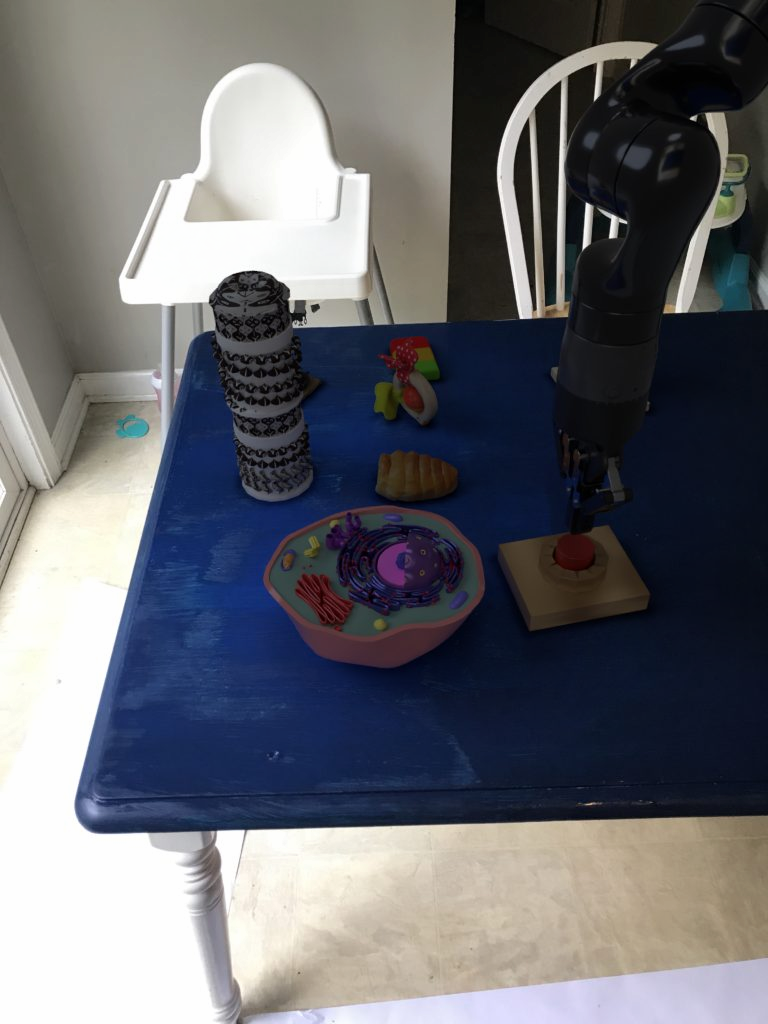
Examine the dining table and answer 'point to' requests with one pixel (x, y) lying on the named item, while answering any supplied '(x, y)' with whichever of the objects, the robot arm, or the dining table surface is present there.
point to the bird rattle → (406, 387)
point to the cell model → (376, 584)
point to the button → (574, 552)
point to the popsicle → (420, 356)
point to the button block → (571, 581)
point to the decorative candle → (262, 384)
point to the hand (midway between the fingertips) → (577, 528)
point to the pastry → (414, 476)
